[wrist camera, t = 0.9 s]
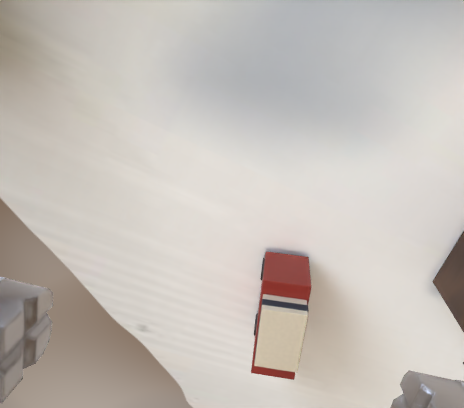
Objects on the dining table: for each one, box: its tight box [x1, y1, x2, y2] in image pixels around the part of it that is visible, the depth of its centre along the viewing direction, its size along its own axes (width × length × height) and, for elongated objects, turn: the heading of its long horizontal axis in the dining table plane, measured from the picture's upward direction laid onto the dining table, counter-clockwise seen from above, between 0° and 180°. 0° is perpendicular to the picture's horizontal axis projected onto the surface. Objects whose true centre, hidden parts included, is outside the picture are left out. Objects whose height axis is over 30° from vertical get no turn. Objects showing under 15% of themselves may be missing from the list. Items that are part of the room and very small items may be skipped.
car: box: [251, 252, 311, 380], centre depth 44 cm, size 13×5×10 cm, turn 176°
